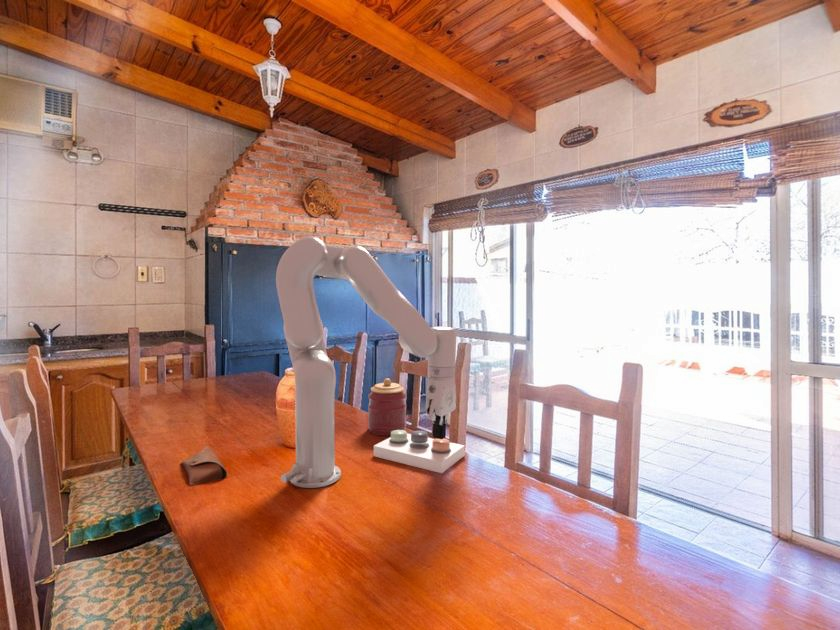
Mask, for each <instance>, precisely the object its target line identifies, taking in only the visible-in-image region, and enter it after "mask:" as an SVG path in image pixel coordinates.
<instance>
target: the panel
mask: <svg viewBox="0 0 840 630" xmlns="http://www.w3.org/2000/svg"><path fill="white" fill-rule="evenodd" d="M434 439H435V438H430V437H428V441H427V442H425V443H414V442H412V441H411V433H407V440H406V441H404V442H394V441H391V436H389V437H388V438H386V439H384V440H382V441H380V442H378V443H376V444H374V445H373V457H375V458H380V459H384V460H387V461H392V462H395V463H400V464H403V465H408V466H412V467H415V468H420V469H423V470H427V471H431V472H435V473H439V474H443V473H445V472H446V471H447V470H448V469H450V468H451V467H452V466H454V465H455V464H456V463H457V462H458V461H460V460H461V459H462V458H464V457H465V454H466V453H465V452H466V451H465V450H466V449H465V448H466V445H464V444H460V443H456V442H450V449H449V450H448V451H444V452H439V451H435V450H433V449H432V441H433V440H434Z"/></svg>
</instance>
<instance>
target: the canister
mask: <svg viewBox="0 0 840 630" xmlns="http://www.w3.org/2000/svg"><path fill="white" fill-rule="evenodd" d="M370 391H371V392H370V393H369V394H368V396H367V397H368V399H369V403H368V404H367V408H368V422H367V428H368V431H369V432H370V433H371V434H373V435H377V436H391V432H392V431H394V430H404V431H406V429H407V428H406V427H407V403H406V398H407V394H406V393H405V392H404V391H405V387H403V386H402V385H400V383H397V382H392V379H390V378H387V377H386V378H384V379H383V382H379V383H376V384H374V386H372V387H370Z"/></svg>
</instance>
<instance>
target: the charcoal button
mask: <svg viewBox="0 0 840 630" xmlns="http://www.w3.org/2000/svg"><path fill="white" fill-rule="evenodd" d="M410 434H411V441H412V442H414V443H425V442H427V441H428V438H429V433H428V432H427V431H425V430H414V431H411V433H410Z"/></svg>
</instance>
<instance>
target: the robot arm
mask: <svg viewBox="0 0 840 630" xmlns="http://www.w3.org/2000/svg"><path fill="white" fill-rule="evenodd" d="M315 276H321V277H327V278H333V279H341V280H347V281H348V283H350V284H351V286H352V287H353V288H354V289H355V291H356V292H357V293H358V295H359V296H360V297H361V298H362V299H363V301H364V302H365V303H366V305H367V306H368V307H369V309H371V310H372V312H373V313H374V314H376V315H377V316H378V317H380V318H382V319H383V320H384V321H386V323H388V324H389V326H391V327H392V328H393V329H394V330H395V331H396V332H397V334H398V343H399V345H400V347H401V349H403V350H404V351H405V352H407V353H409V354H411V355H414V356H415V357H418V358H427V379H428V380H427V384H426V385H427V386H426V391H425V392H426V394H425V412H426V415H428V421H432V438H433V439H446V434H447V423H448V415H449V414H450V413H452V412H453V411H455V410H456V409H457V386H456V385H457V384H456V356H457V355H456V353H457V352H456V350H457V332H456V329H455V328H453V327H449V326H433V327H431V326H430V325H429V323H428V322H427V321H426V319H425V318H424V317H423V315H422V314H421V313H420V312H419V311H418V310H417V308H416V307H414V305H413V304H412V303H411V302H410V301H409V300H408V299H407V298H406V297H405V295H403V293H401V292H400V291H399V289H397V287H396V286H395V285H394V283H393V282H392V281H391V279H390V278H389V277H388V276H387V274H386V273H385V272H384V271H383V269H382V268H381V266H380V265H379V264H378V262H377V261H376V260H375V258H374V257H373V256H372V254H370V252H369V251H368V250H366V249H365V248H364V247H362V246H358V245H353V246H349V247H341V246H334V245H329V244H325V242H323V241H322V240H321V239H319V238H318V237H316V236H312V235H310V236H307V235H306V236H304V237H301V238H299V239H297V240H296V241H294V242H293V243H292V244H291V245H290V246H289V247H288V248H287V249H286V250H285V251H284V252H283V254H282V256H281V257H280V259H279V261H278V265H277V267H276V274H275V285H276V291H277V298H278V302H279V307H280V311H281V315H282V319H283V333H284V337H285V342H286V346H287V348H288V349H287V350H288V353H289V358H290V361H291V365H292V370H293V374H294V383H295V385H294V387H295V388H294V391H295V394H294V396H295V397H294V399H295V400H294V402H295V403H294V406H295V407H294V414H295V415H294V416H295V417H294V419H295V463H292V468H291V469H290V471H288V472H287V471H286V472H285V473H283V474H282V475H280V480H281V482H282V483H283V484H284V483H285V484H286V483H288V482H290V483H291V485H293V486H296V487H298V488H302V489H303V488H304V489H316V488H322V487H326V486H330V485H332V484H334V483H336V482H337V481H338V480H340V478H341V476H342V471H341V468H340V467H339V466H338V465H335V463H336V462H335V461H336V458H335V457H336V455H335V453H336V451H335V450H336V449H335V447H336V446H335V442H336V441H335V439H336V438H335V434H336V433H335V430H336V429H335V426H336V425H335V424H336V423H335V397H336V396H335V393H336V392H335V391H336V383H337V375H336V368H335V366H334V363H333V361H332V360H331V358H329V357H328V353H327V348H326V344H325V340H324V337H323V336H324V325H323V322H322V319H321V316H320V311H319V307H318V303H317V300H316V294H315V288H314V277H315Z"/></svg>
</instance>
